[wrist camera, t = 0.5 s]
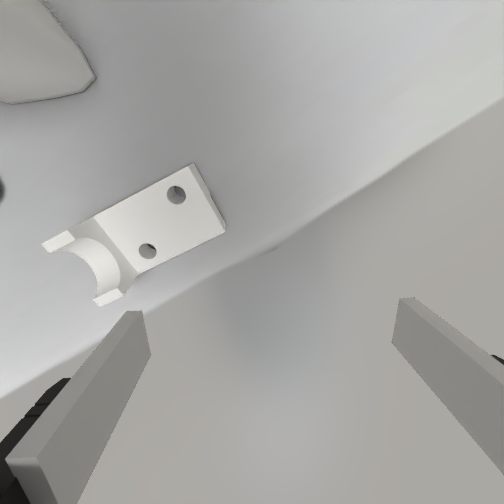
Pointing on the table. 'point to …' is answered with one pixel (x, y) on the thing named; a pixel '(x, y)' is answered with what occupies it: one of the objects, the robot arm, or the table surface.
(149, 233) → the white pipe support bracket
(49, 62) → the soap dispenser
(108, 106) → the table surface
